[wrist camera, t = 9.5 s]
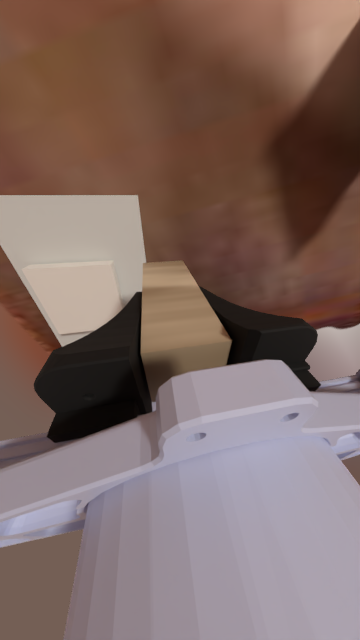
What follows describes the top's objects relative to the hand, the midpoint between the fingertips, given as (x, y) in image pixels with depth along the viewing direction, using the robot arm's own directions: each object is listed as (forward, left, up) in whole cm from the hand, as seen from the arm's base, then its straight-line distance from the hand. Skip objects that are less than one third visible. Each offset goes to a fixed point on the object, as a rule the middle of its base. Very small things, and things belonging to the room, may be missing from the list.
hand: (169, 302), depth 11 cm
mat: (-3, +8, -10) cm, 13 cm away
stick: (0, 0, -3) cm, 3 cm away
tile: (-4, +5, -8) cm, 10 cm away
